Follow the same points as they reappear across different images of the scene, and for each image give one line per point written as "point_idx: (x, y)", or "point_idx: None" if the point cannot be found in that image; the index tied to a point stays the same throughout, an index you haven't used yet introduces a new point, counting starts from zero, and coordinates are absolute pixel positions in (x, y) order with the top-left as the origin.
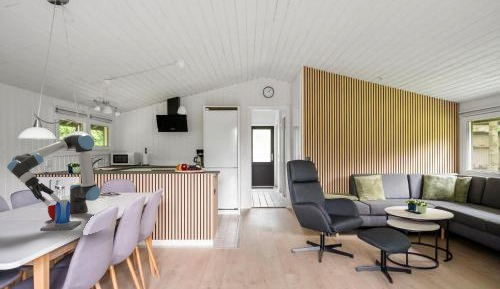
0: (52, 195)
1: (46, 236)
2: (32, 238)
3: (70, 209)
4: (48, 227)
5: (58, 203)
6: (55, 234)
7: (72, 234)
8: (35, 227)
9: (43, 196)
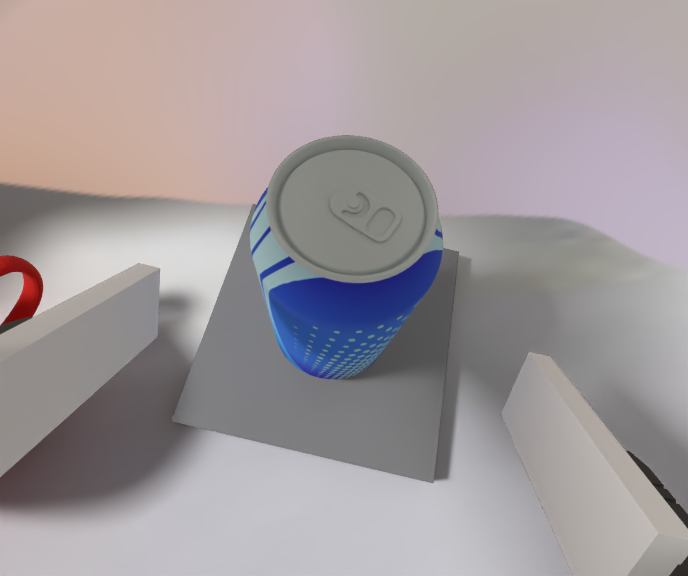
0: (37, 393)
1: (616, 389)
2: (666, 479)
3: (12, 256)
4: (423, 416)
5: (428, 268)
6: (567, 340)
7: (577, 242)
8: (283, 566)
9: (678, 521)
